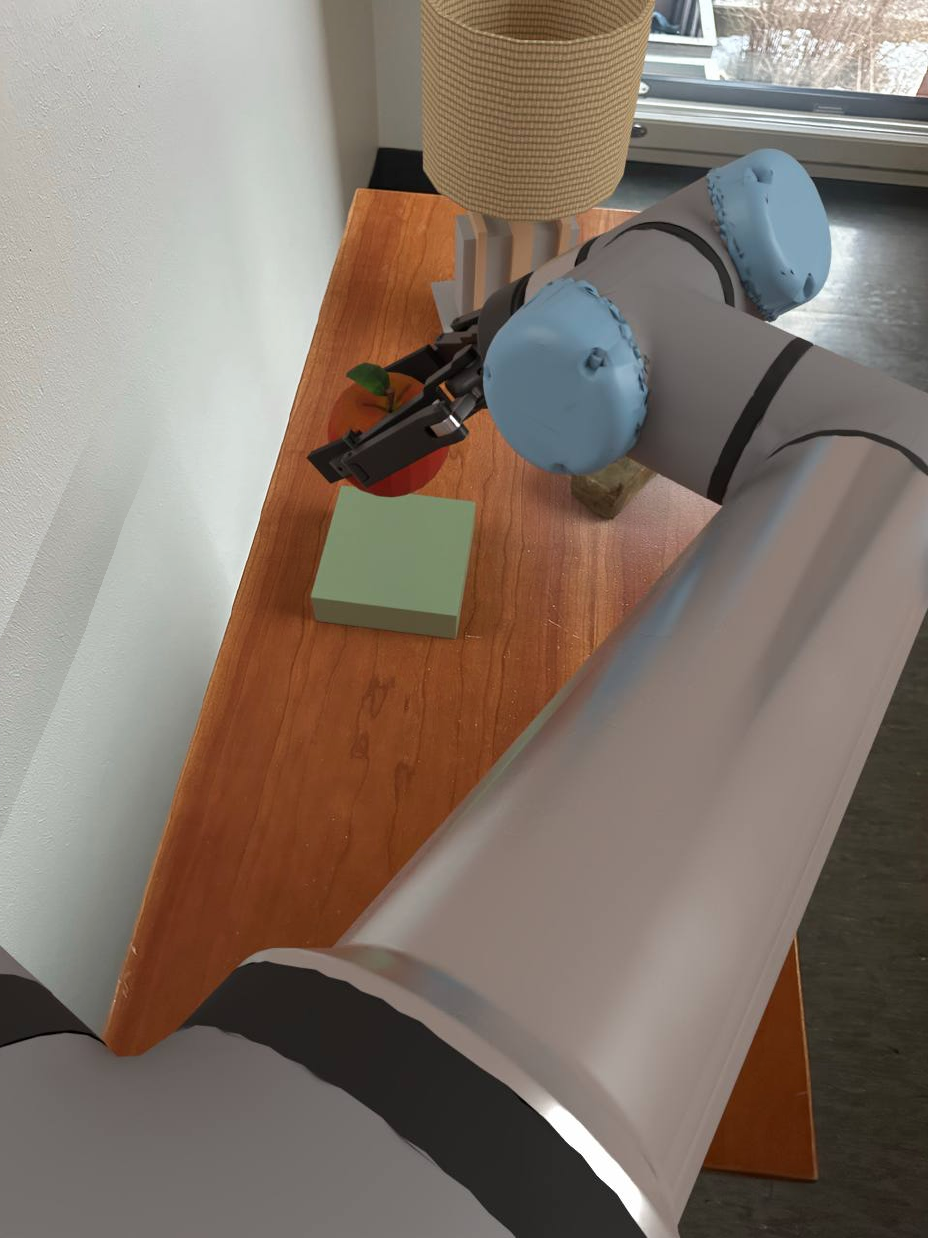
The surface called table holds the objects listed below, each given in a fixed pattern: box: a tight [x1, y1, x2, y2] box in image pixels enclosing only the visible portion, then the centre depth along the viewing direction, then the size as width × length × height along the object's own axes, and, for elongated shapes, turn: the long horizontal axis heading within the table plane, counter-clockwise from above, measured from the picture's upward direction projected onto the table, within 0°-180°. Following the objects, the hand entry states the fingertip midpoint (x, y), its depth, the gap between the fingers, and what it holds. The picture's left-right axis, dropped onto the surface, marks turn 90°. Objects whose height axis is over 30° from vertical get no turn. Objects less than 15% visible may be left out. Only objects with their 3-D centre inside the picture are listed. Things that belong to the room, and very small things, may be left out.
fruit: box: [327, 362, 451, 498], centre depth 69 cm, size 10×10×10 cm
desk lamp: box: [420, 0, 657, 333], centre depth 89 cm, size 20×20×35 cm
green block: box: [310, 485, 477, 640], centre depth 83 cm, size 13×13×4 cm
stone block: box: [570, 456, 659, 521], centre depth 90 cm, size 6×12×5 cm, turn 141°
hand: (355, 425), depth 70 cm, fingers closed on fruit, 9 cm apart
